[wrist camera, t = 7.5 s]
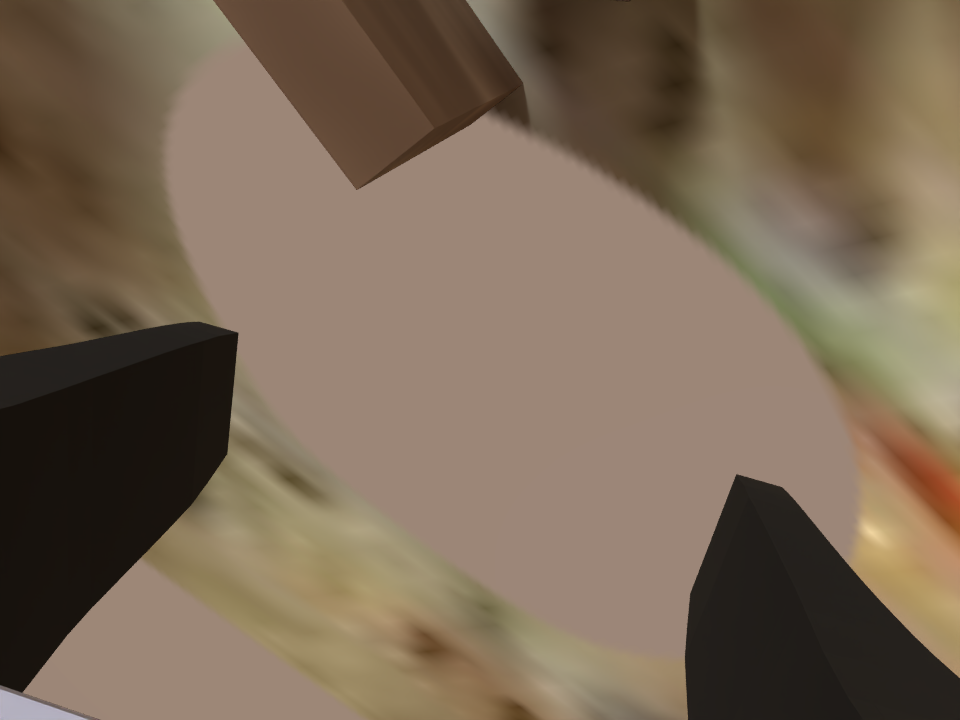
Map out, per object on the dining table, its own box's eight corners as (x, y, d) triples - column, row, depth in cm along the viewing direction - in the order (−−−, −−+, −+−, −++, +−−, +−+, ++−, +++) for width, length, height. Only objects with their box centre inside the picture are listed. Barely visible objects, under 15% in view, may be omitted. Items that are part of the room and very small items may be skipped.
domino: (469, 124, 21) (356, 189, 13) (340, -58, 20) (143, -94, 13) (523, 83, 20) (434, 128, 13) (391, -107, 19) (215, -175, 12)
